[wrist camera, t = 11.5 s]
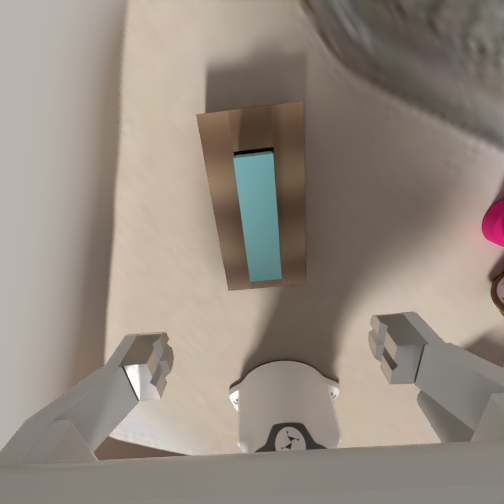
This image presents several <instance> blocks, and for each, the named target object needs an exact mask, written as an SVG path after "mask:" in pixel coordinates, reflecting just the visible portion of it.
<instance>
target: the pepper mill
mask: <svg viewBox="0 0 504 504" xmlns="http://www.w3.org/2000/svg"><path fill="white" fill-rule="evenodd" d="M482 231H483V234H484V236H485V237H486V239H488V240H489V241H491V242H493V243H496V244H498V245H500V246H502V247H504V198H502V199H501V200H499V201H498V202H497V203H496V204H494V205H493V206H492V207H491V208H490V210H489V211H488V213H487V214H486V215H485V218H484V220H483V224H482Z"/></svg>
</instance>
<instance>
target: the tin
mask: <svg viewBox="0 0 504 504" xmlns="http://www.w3.org/2000/svg"><path fill="white" fill-rule="evenodd" d="M491 297H492V300H493V302H494V304H495V305H496V306H497V308H498V309H499V310H500V312H501V314H502V315H503V316H504V273H502V274H501V275H500V276H499V277H498V278H496V280H495V281H494V282H493V284H492V287H491Z"/></svg>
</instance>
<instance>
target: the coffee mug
mask: <svg viewBox="0 0 504 504" xmlns="http://www.w3.org/2000/svg"><path fill="white" fill-rule="evenodd" d="M417 401H418V404H419V406H420V408H421V409H422V411H423V412H424V414H425V416H426V417H427V419H428V421H429V422H430V424H431V426H432V427H433V429H434V431H435V432H436V434H437V435H438V437H439V439H440V440H441V442H442V443H450V442H469V441H471V439H472V437H473V435H474V432H475V431H473V430H472V429H471V428H469V427H468V426H467V425H466V424H464V423H463V422H462V421H461V420H459V419H458V418H457V417H455V416H454V415H453V414H452V413H450V412H449V411H448V410H447V409H445V408H444V407H443V406H441V405H440V404H439V403H438V402H436V401H435V400H434V399H433V398H431V397H430V396H429V395H427V394H426V393H425V392H424V391H422V390H421V392H420V393H419V395H418V399H417Z"/></svg>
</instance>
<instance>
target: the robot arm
mask: <svg viewBox="0 0 504 504" xmlns="http://www.w3.org/2000/svg"><path fill="white" fill-rule="evenodd" d="M370 324H371V326H372V328H373V329H372V330H371V331H370V332H369V339H368V340H369V346H370V349H371V352H372V354H373V355H374V357H375V358H376V359H377V360H379V361H380V362H381V370H382V371H383V373H384V375H385V377H386V378H387V380H388V382H389V384H412V383H415V385H416V386H417V387H419V388H420V389H421V390H422V391H424V392H425V393H426V394H427V395H429V396H430V397H431V398H433V399H434V400H435V401H436V402H438V403H439V404H440V405H441V406H443V407H444V408H445V409H447V410H448V411H449V412H450V413H452V414H453V415H454V416H455V417H457V418H458V419H459V420H461V421H462V422H463V423H464V424H466V425H467V426H468V427H469V428H471V429H472V430H473V431H475V432H474V435H473V437H472V439H471V441H469V442H450V443H431V444H411V445H392V446H373V447H353V448H338V446H339V442H340V441H341V439H342V437H341V432H340V427H339V423H338V419H337V415H336V411H335V407H334V404H335V401H336V399H337V396H338V393H339V386H338V383H337V382H335V381H333V380H330V379H328V378H325V377H324V376H322V375H321V374H320V373H319V372H318V371H317V370H316V369H314V368H313V367H311V366H309V365H306V364H303V363H300V362H294V361H276V362H271V363H267V364H264V365H261V366H259V367H257V368H255V369H254V370H252V371H251V372H250V373H249V374H248V375H247V376H246V377H245V378H244V380H243V381H242V382H241V383H240V384H238V385H236V386H234V387H232V388H231V389H230V390H229V398H230V400H231V402H232V403H233V405H234V407H235V409H236V410H237V412H238V431H237V441H238V445H239V446H240V447H241V450H242V451H243V452H244V453H235V454H216V455H196V456H177V457H159V458H158V457H157V458H137V459H119V460H98V459H97V458H96V456H95V455H94V453H93V452H94V451H95V449H96V448H97V447H98V446H99V445H100V444H101V443H102V442H103V441H104V439H106V437H107V436H108V435H109V434H110V433H111V432H112V431H113V430H114V429H115V428H116V427H117V425H118V424H119V423H120V422H121V421H122V420H123V419H124V418H125V417H126V416H127V414H128V413H129V412H130V411H131V410H132V409H133V408H134V407H135V406H136V405H137V403H138V401H145V400H155V399H161V397H162V394H163V391H164V389H165V386H166V383H167V382H166V379H165V377H166V376H167V375H168V374H169V373H170V372H171V369H172V366H173V359H174V356H173V350H172V347H170V346H169V345H168V344H167V342H168V340H169V338H168V336H167V333H165V332H153V333H140V334H128V335H126V336H125V337H124V339H123V340H122V342H121V343H120V344H119V346H118V347H117V349H116V350H115V352H114V353H113V355H112V356H111V358H110V359H109V361H108V362H107V364H106V365H105V367H104V368H100V369H98V370H96V371H95V372H94V373H92V374H91V375H89V376H88V377H87V378H85V379H84V380H82V381H81V382H80V383H78V384H77V385H75V386H74V387H73V388H71V389H70V390H68V391H67V392H66V393H64V394H63V395H61V396H60V397H58V398H57V399H56V400H54V401H53V402H51V403H50V404H49V405H47V406H46V407H44V408H43V409H41V410H40V411H39V412H37V413H36V414H34V415H33V416H32V417H30V418H29V419H27V420H26V421H25V422H24V424H23V425H22V426H21V427H20V428H19V430H18V431H17V432H16V433H15V434H14V436H13V437H12V438H11V439H10V440H9V442H8V443H7V444H6V446H4V448H3V449H2V450H1V451H0V504H504V368H502V367H500V366H498V365H496V364H494V363H491V362H489V361H487V360H485V359H483V358H481V357H479V356H477V355H475V354H473V353H470V352H468V351H466V350H464V349H462V348H460V347H458V346H456V345H454V344H452V343H445V342H444V341H443V340H442V339H441V338H440V337H439V336H438V335H437V334H436V333H435V332H434V331H433V330H432V328H431V327H430V326H429V325H428V324H427V323H426V322H425V321H424V320H423V319H422V318H421V317H420V316H419V315H418V314H417V313H415V312H404V313H395V314H384V315H372V317H371V321H370Z"/></svg>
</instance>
